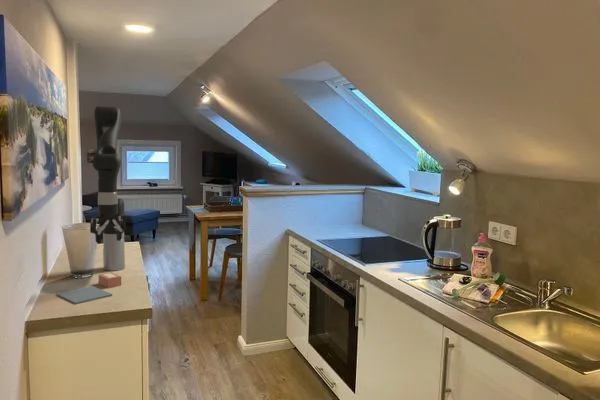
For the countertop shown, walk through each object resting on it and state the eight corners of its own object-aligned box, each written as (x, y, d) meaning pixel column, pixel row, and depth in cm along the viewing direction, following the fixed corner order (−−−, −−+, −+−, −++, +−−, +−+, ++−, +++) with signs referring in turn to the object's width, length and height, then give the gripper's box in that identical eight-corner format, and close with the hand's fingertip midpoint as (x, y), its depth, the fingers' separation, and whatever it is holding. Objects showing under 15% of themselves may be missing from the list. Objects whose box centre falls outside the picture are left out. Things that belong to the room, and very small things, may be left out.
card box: (98, 284, 196) (98, 274, 195) (111, 281, 200) (111, 272, 199) (108, 288, 190) (108, 278, 189) (121, 286, 194) (121, 276, 193)
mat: (56, 295, 179) (56, 293, 179) (92, 287, 190) (92, 285, 190) (75, 304, 169) (75, 302, 169) (112, 295, 180) (112, 294, 180)
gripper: (119, 201, 199) (120, 238, 201) (86, 203, 188) (87, 243, 190) (128, 202, 194) (129, 240, 196) (95, 205, 183) (96, 245, 185)
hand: (108, 241), depth 193 cm, fingers open, 8 cm apart
